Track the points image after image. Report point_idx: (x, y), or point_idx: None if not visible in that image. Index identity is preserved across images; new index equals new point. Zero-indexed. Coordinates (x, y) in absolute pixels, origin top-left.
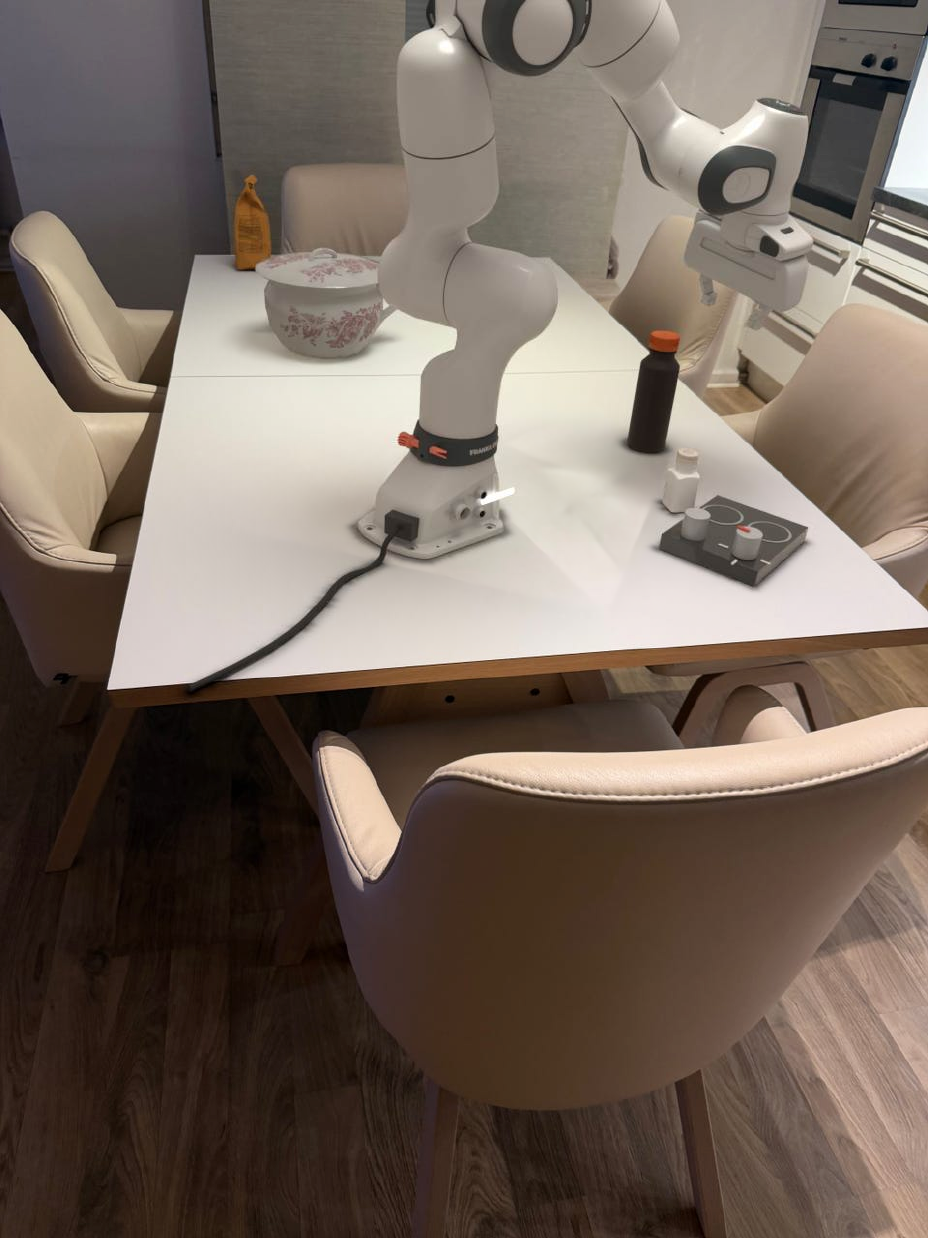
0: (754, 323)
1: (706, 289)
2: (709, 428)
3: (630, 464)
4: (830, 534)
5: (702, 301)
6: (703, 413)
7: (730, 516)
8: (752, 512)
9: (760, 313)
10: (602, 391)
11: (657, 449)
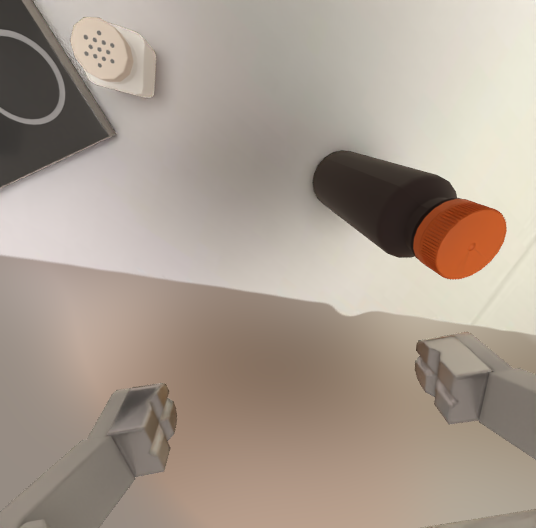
0: (108, 413)
1: (516, 397)
2: (337, 290)
3: (299, 109)
4: (10, 248)
5: (462, 336)
6: (370, 306)
7: (5, 88)
8: (28, 148)
9: (34, 493)
10: None
11: (314, 180)
